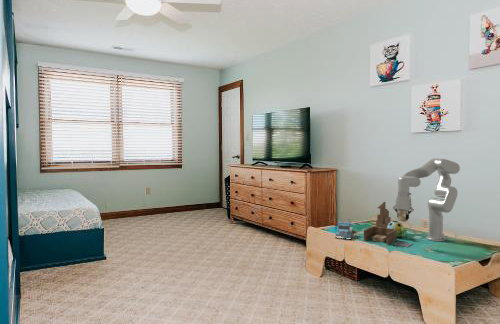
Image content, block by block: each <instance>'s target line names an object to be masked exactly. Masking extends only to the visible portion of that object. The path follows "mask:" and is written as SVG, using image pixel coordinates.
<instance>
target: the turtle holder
mask: <svg viewBox="0 0 500 324" xmlns="http://www.w3.org/2000/svg"><path fill="white" fill-rule="evenodd" d="M391 223H392V224H391ZM387 228H389V229H396V230H397V237H402V238H405V236H406V232H407V228H406V227H405V226H404V224H403V222H402V221H398V220H392V221H391V222H390V223H389V224H388V226H387Z"/></svg>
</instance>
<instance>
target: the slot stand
mask: <svg viewBox="0 0 500 324" xmlns="http://www.w3.org/2000/svg"><path fill="white" fill-rule="evenodd" d="M397 238H398V236H397V230H396V229H389V228H383V227H376V225H375V226H374V225H372V226H369V227H368V228H365V229H364V230H363V241H364V242H365V241H368V240H370V239H372V241H373V242H377V243H385V242H386V243H385V244H386V246H389V245H391V244H392V243H395V242H396V241H397Z"/></svg>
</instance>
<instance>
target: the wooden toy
mask: <svg viewBox="0 0 500 324" xmlns="http://www.w3.org/2000/svg"><path fill="white" fill-rule="evenodd" d="M386 203H387V202H386V201H383V202H382V203H381V204H380V205H378V207H377V209H379V213H378V214H377V215H376V220H375V221H376V223H375V226H376V227H383V228H387V226H388V224H389V223H390V222H391V221H393V219H392V220H391V216H390V211H389V209H387V208H386ZM391 224H392V223H391Z"/></svg>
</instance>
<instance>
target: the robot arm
mask: <svg viewBox="0 0 500 324" xmlns="http://www.w3.org/2000/svg"><path fill="white" fill-rule="evenodd" d="M460 170H461V167H460V164H458V163H457V162H456V161H452V160H450V159H447V158H431V159H429V160H428V161H427V162H426V163H424V164H423V165H422V166H420V167H418V168H414V169H412V170H409V171H408V172H406V173H405V174H403V175H402V176H400V177H398V180H397V195H396V200H395V205H394V206H393V207H392V210H394V211H395V212H396V217H397V218H398V210H406V213H407V214H406V220H408V221H409V219H410V214H411V213H412V212H414V211H415V210H414V208H413V206H412V197H411V196H412V193H411V191H410V188H418V187H420V185H421V179H422V178H423V179H424V178H428V177H430V176H432V174H433V173H435V172H437V173H438V178H439V179H438V182H437V185H436V187H435V190H434V195H435V196H436V197H432V198H429V199H428V201H427V208H428V235H427V236H426V240H428V241H432V242H444V241H445V240H449V239H450V236H448V235H445V234H444V233H443V232H444V231H443V230H444V229H443V228H444V215H443V213H447V214H448V213H451V211H452V210H453V208H454V207H455V203H456V200H457V197H458V190H457V188H456V187H455V186H451V184H452V177H451V174H452V175H456V174H459V172H460Z"/></svg>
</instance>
